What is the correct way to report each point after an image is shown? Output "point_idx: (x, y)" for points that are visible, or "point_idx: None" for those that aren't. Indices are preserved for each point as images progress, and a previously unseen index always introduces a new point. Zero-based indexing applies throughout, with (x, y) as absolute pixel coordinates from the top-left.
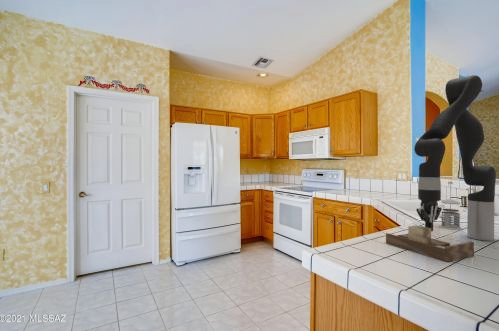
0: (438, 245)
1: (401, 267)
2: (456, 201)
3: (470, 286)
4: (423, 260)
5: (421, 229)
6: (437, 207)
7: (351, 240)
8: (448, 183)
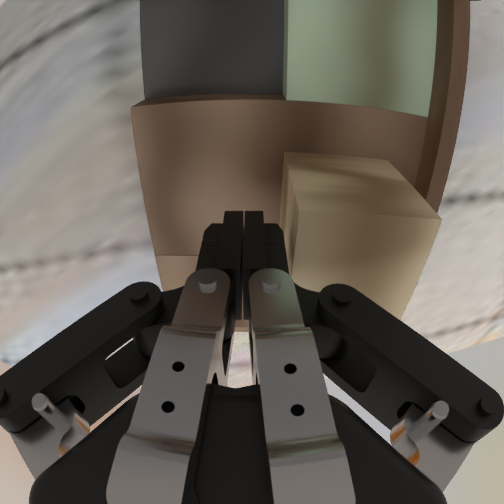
0: (282, 100)
1: None
2: None
3: None
4: (500, 79)
5: (438, 224)
6: (35, 442)
7: None
8: None
